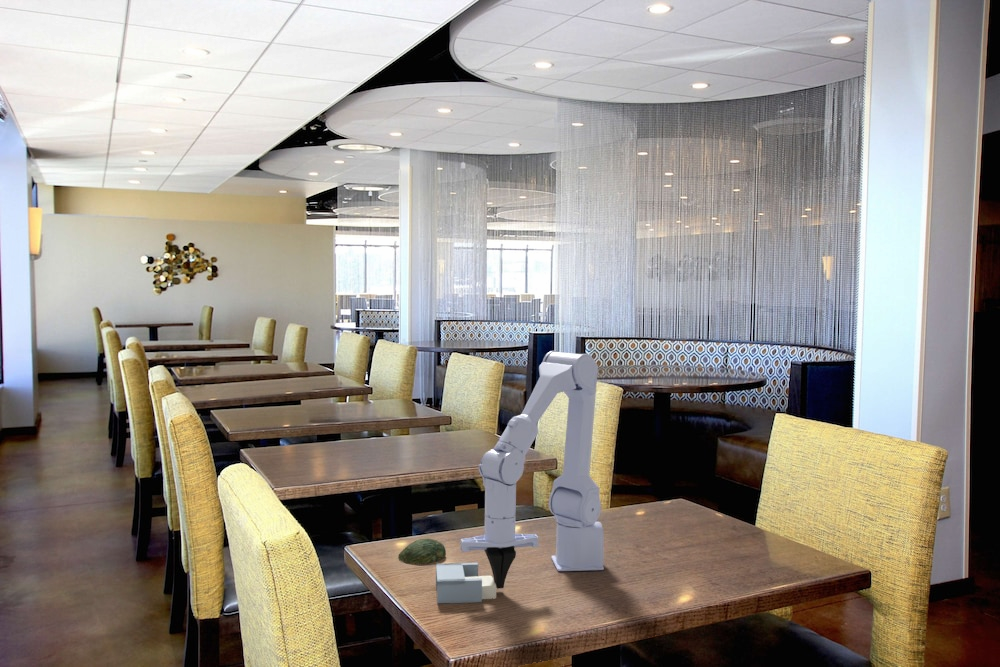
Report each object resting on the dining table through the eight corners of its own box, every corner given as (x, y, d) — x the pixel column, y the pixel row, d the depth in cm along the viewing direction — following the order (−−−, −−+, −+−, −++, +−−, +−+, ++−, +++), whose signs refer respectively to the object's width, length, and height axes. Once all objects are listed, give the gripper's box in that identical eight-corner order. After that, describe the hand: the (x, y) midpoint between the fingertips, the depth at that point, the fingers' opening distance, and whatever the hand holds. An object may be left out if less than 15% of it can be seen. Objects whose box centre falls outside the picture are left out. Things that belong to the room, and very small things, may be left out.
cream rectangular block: (491, 588, 147) (491, 575, 146) (496, 599, 142) (496, 585, 142) (449, 591, 145) (449, 577, 145) (452, 601, 140) (452, 587, 140)
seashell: (407, 528, 169) (451, 533, 166) (407, 546, 169) (451, 551, 167) (390, 547, 159) (437, 552, 157) (391, 566, 159) (437, 571, 157)
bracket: (477, 583, 149) (477, 562, 149) (481, 602, 140) (482, 580, 140) (435, 584, 148) (436, 563, 148) (437, 603, 139) (437, 581, 139)
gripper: (531, 506, 149) (530, 575, 150) (457, 510, 146) (456, 581, 147) (542, 517, 143) (541, 589, 143) (465, 521, 139) (464, 595, 140)
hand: (499, 586), depth 145 cm, fingers closed
